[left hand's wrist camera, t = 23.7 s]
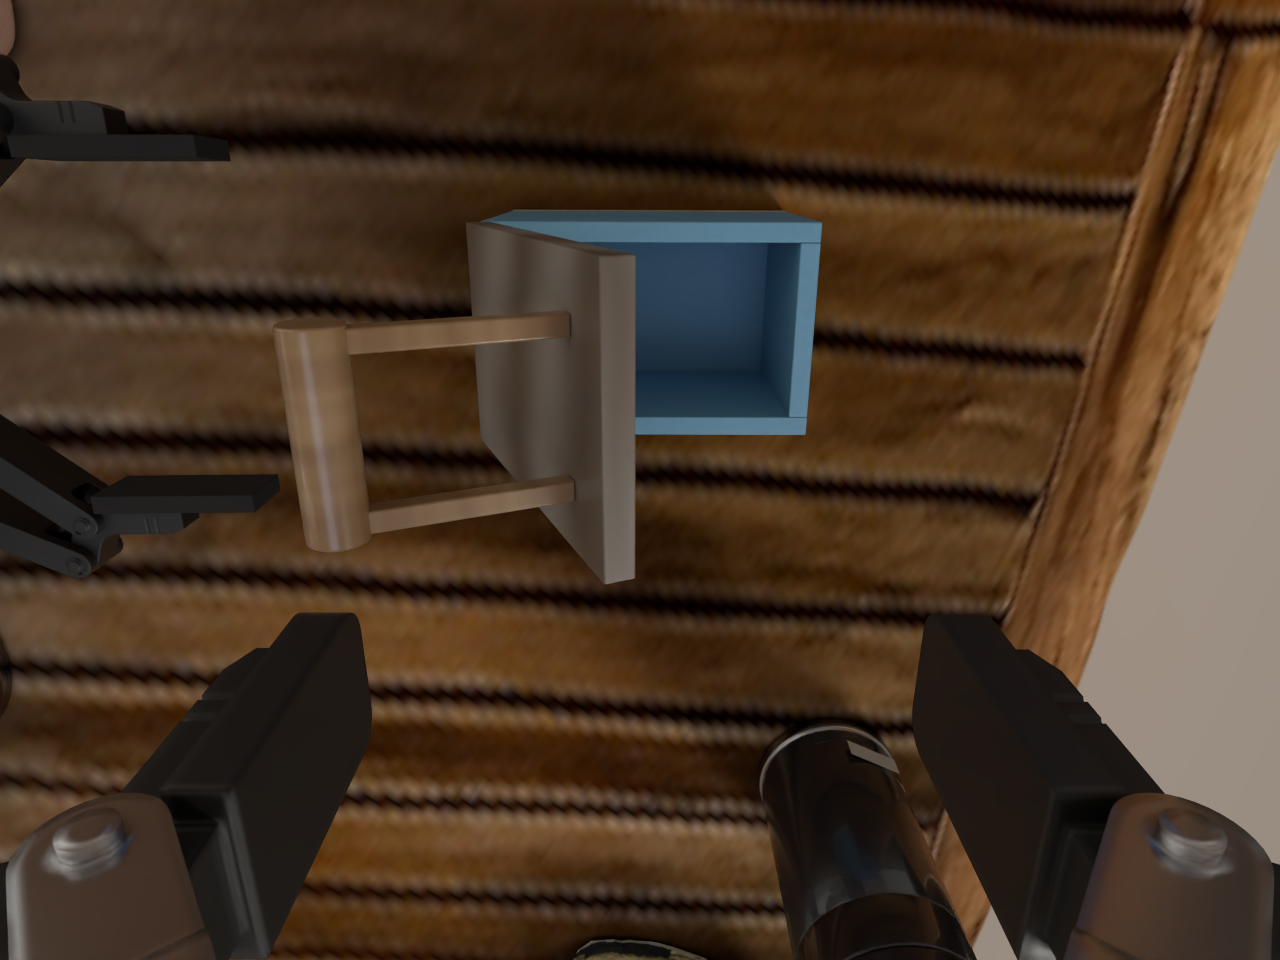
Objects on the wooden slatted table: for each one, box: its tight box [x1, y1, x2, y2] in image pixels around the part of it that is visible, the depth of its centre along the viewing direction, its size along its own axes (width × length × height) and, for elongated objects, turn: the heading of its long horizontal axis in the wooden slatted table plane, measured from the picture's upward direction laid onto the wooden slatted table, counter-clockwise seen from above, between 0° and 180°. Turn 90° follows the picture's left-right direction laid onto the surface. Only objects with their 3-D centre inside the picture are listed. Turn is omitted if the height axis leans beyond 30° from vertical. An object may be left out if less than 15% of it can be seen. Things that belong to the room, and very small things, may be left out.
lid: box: [272, 222, 636, 584], centre depth 27 cm, size 15×9×9 cm
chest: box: [481, 210, 822, 435], centre depth 41 cm, size 14×9×10 cm, turn 90°
